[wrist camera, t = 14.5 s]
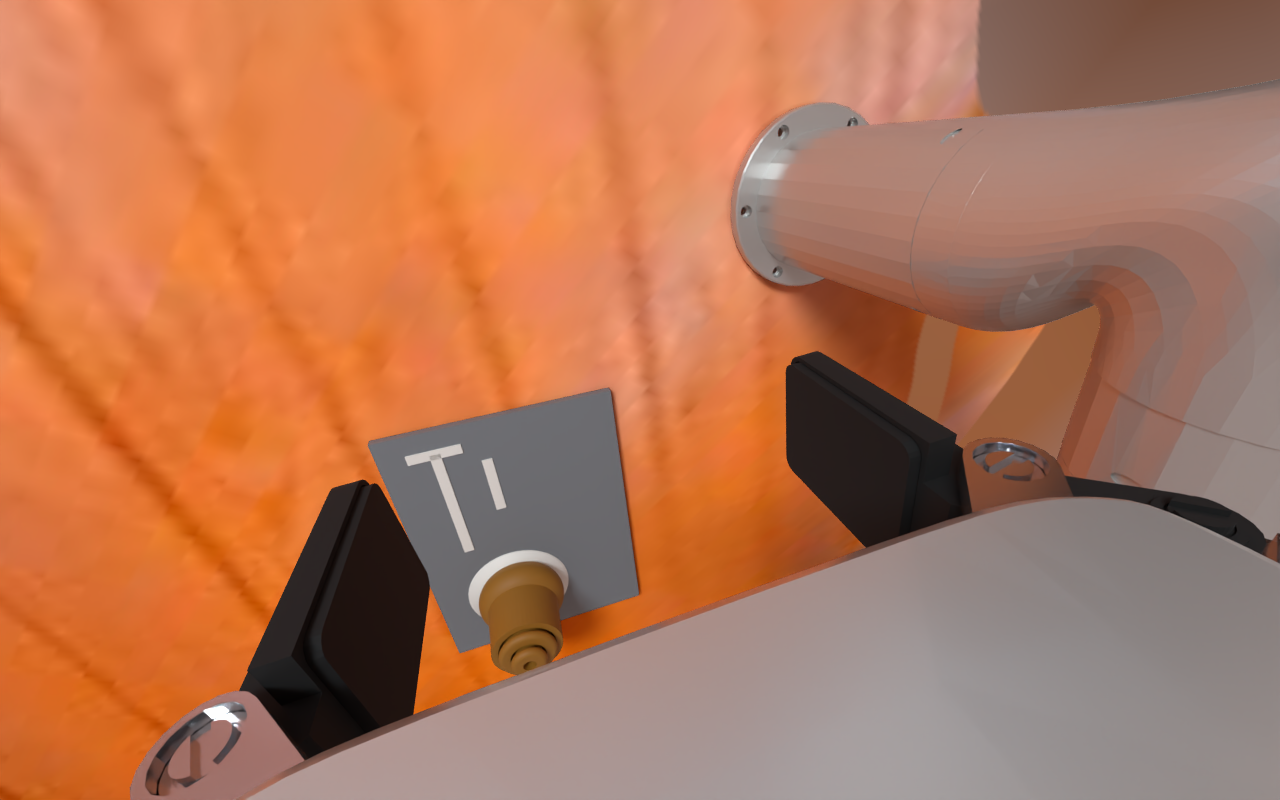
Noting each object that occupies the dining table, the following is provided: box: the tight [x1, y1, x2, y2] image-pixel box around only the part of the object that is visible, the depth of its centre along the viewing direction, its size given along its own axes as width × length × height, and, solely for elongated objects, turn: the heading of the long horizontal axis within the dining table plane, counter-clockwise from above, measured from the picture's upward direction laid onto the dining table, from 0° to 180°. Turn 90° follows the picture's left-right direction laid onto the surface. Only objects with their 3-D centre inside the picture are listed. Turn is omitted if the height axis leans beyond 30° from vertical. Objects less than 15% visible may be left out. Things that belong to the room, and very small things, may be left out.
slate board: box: [368, 388, 639, 653], centre depth 42 cm, size 18×24×1 cm
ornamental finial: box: [479, 561, 564, 675], centre depth 41 cm, size 8×8×8 cm
